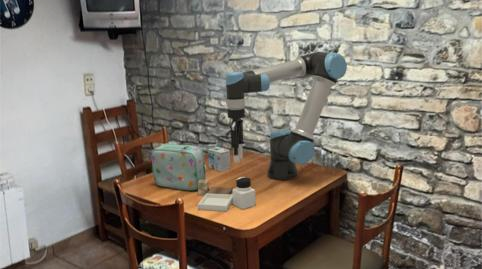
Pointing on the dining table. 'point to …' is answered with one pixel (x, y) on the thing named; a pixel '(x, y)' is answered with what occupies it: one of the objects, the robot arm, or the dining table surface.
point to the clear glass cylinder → (203, 187)
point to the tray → (215, 202)
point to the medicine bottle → (243, 193)
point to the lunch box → (178, 166)
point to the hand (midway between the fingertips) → (238, 160)
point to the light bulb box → (219, 159)
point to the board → (220, 190)
